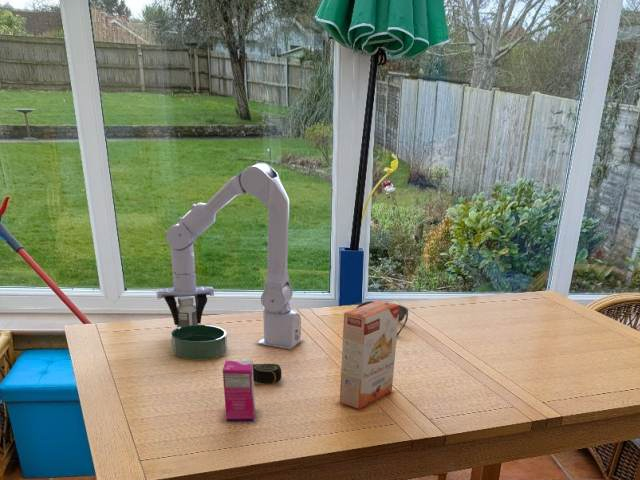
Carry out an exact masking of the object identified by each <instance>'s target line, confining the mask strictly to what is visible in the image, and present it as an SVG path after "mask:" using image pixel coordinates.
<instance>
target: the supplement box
mask: <svg viewBox="0 0 640 480" xmlns="http://www.w3.org/2000/svg"><path fill="white" fill-rule="evenodd" d="M253 362H254V361H253V360H248V359H246V360H240V359H239V360H237V359H235V360H234V359H233V360H231V359H227V360H225V361H224V364H223V368H222V380H223V393H224V406H225V407H224V408H225V420H226V421H227V422H251V423H253V422H254V421H255V416H256V400H255V399H256V398H255V383H254V382H255V381H254V379H253V364H254V363H253Z"/></svg>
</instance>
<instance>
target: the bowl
mask: <svg viewBox="0 0 640 480" xmlns="http://www.w3.org/2000/svg"><path fill="white" fill-rule="evenodd" d="M227 334H228V333H227V330H225V329H223V328H222V327H219V326H217V325H216V326H215V325H211V324H210V325H209V324H198V325H189V326H183V327H180V328H178V327H176V328H174V329H173V330H172V331H171V332H170V335H171V336H170V337H171V347H172V348H171V349H172V354H173V355H175V356H177V357H179V358H182V359H187V360H194V361H195V360H197V361H200V360H201V361H202V360H211V359H217V358H219V357H222V356H224V355H225V354H227V352H228V335H227Z"/></svg>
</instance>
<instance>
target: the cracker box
mask: <svg viewBox="0 0 640 480" xmlns="http://www.w3.org/2000/svg"><path fill="white" fill-rule="evenodd" d="M399 305H400V304H397V303H394V302H390V301H385V300H380V299H378V300H375V301H374V302H372V303H370V304H367V305H364V306H361V307H359V308H356V307H355V308H356V309H355V308H353V309H351V310H348V311H345V312H344V313H343V329H342V330H343V332H342V350H341V368H340V369H341V370H340V385H339V386H340V389H339V403H340V404H342V405H345V406H348V407H351V408H354V409H357V410H362V409H363V408H365V407H366V406H369V405H370V404H372V403H374V402H375V401H377V400H379V399H381V398H382V397H384V396H386V395H388V394H390V393H391V392H393V381H394V372H395V371H394V370H395V359H396V349H397V339H398V337H397V333H398V326H399V322H398V317H399V307H400V306H399Z"/></svg>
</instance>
